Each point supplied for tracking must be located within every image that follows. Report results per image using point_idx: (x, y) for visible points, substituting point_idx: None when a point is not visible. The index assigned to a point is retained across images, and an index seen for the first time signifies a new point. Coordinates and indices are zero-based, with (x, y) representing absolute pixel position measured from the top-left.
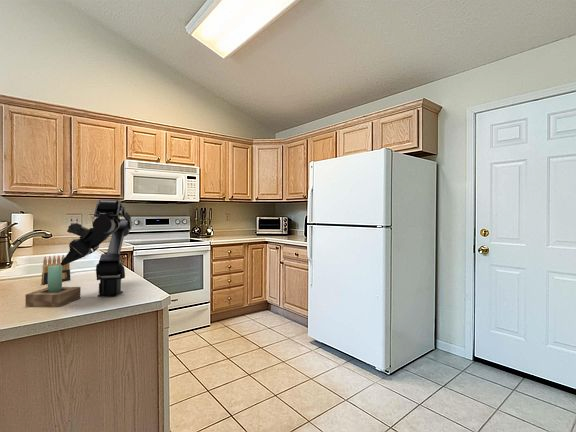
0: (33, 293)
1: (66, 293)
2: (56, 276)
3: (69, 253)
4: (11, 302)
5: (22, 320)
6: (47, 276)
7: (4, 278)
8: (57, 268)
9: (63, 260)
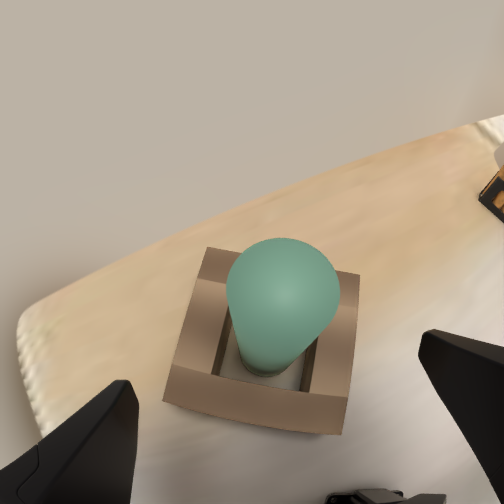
0: (219, 269)
1: (217, 415)
2: (240, 339)
3: (8, 485)
4: (282, 204)
5: (53, 332)
6: (498, 191)
7: (479, 121)
8: (240, 329)
9: (85, 411)
